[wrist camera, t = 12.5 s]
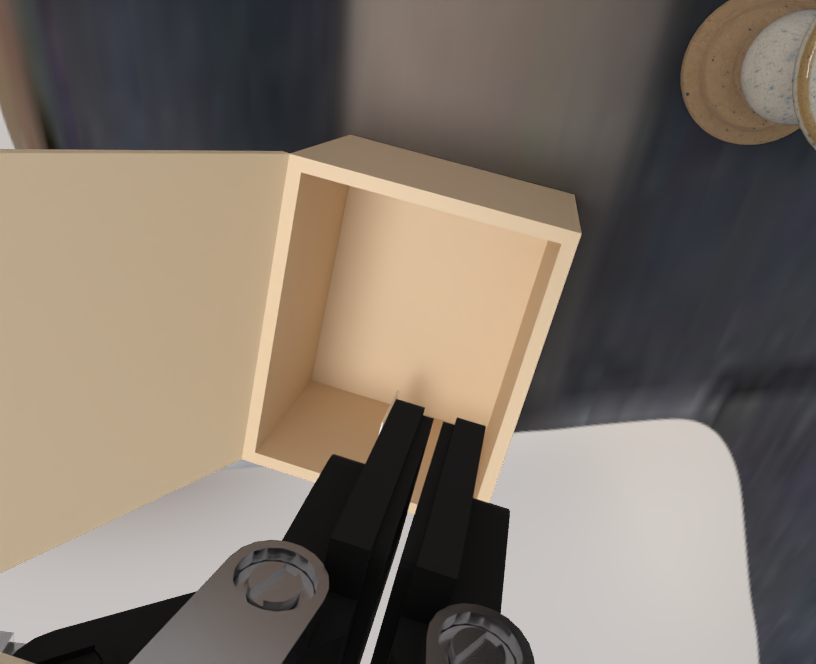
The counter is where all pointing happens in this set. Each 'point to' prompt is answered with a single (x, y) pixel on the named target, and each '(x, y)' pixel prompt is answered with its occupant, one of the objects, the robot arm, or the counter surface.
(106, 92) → the counter surface
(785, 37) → the candle holder
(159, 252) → the lid flap
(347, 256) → the carton
